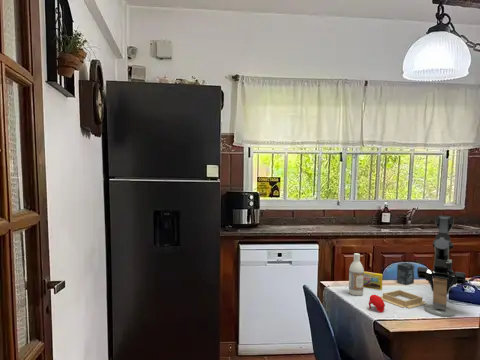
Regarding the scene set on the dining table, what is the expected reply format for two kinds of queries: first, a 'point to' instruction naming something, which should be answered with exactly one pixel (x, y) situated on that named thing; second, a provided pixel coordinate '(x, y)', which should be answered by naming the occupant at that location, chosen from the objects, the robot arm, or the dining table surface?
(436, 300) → the walnut box
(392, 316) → the dining table surface
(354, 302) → the dining table surface
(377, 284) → the candy box
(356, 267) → the bath foam
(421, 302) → the wooden square frame
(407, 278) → the box
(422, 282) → the dining table surface
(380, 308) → the red rounded piece
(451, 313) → the plate
